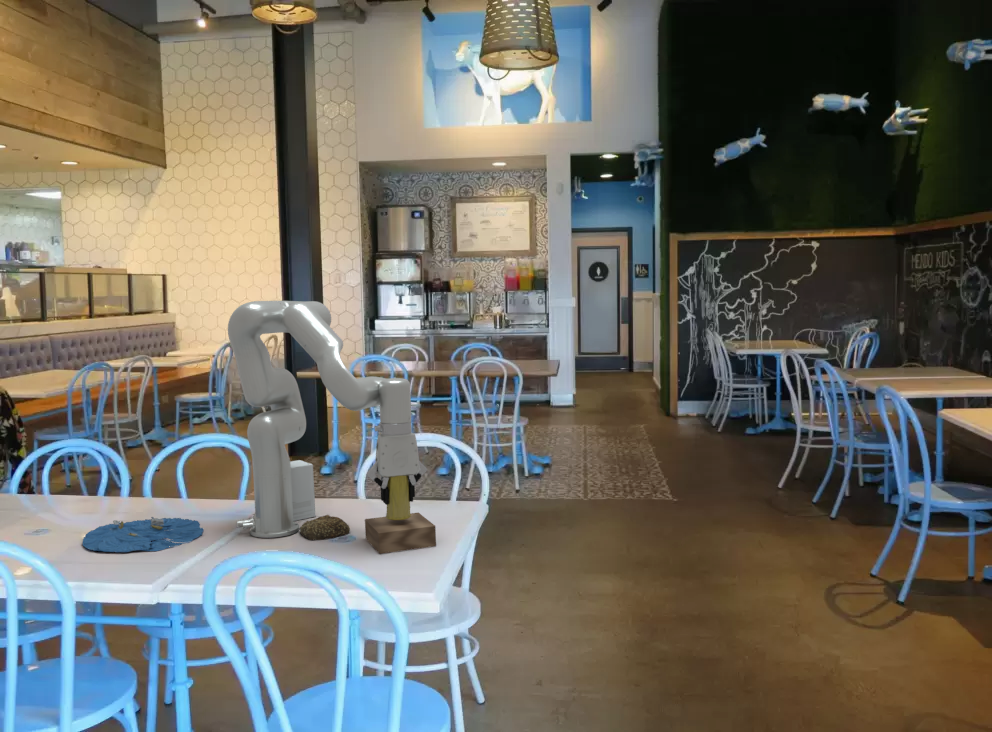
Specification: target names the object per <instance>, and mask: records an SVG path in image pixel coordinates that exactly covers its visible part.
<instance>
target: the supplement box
mask: <svg viewBox="0 0 992 732" xmlns="http://www.w3.org/2000/svg"><path fill="white" fill-rule="evenodd" d="M290 464H291V483H292V505H293V522H296V521H300V520H306V519H310V518H315V517H316V515H317V514H316V498H315V481H314V480H315V479H314V465H313V464H312V463H310V462H306V461H303V460H300V459H298V460H297V459H296V460H292V461H291V460H290Z"/></svg>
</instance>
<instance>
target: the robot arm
mask: <svg viewBox="0 0 992 732" xmlns="http://www.w3.org/2000/svg"><path fill="white" fill-rule="evenodd" d="M331 324H332V314H331V311H330V310H329V308H328V307H327V306H326V305H325V304H323V303H322V302H320V301H315V300H312V301H309V300H307V301H300V300H299V301H297V300H255V301H250V302H246V303H245V302H244V303H243V304H241V305H240V306H237V307H236V309H235V310H234V311H233V312H232V313H231V315H230V317H229V320H228V324H227V335H228V336H227V337H228V340H229V343H230V347H231V349H232V352H233V355H234V359H235V362H236V366H237V371H238V375H239V380H240V385H241V388H242V392H243V396H244V399H245V401H246V402H247V404H249V405H250V406H252V407H254V408H264V407H268V406H269V407H270V409H271V410H267V411H263V412H260V413H258V414H257V415H255V416H254V417H252V419H251V420H250V421H249V423H248V426H247V430H246V433H247V434H246V435H247V440H248V441H247V442H248V444H249V448H250V454H251V460H252V461H251V462H252V475H253V476H252V478H253V497H254V498H253V499H254V511H255V512H254V514H252V517H249V518H247V519H244V518H243V519H237V520H236V526H237V528H243V529H248V528H250V529H249V534H250V536H252V537H255V538H262V539H263V538H265V539H270V538H271V539H272V538H281V537H287V536H291V535H293V534H295V533H298V532H300V527H301V526H300V524H299V522H296V521H293V505H292V483H291V464H290V461H291V458H290V456H289V452H288V451H287V448H286V445H288V444H291V443H293V442H296V441H299V440H300V439H301V438H302V437H303V436H304V434H305V432H306V430H307V418H306V414H305V413H306V412H305V409H304V405H303V401H302V397H301V393H300V388H299V385H298V382H297V380H296V378H295V376H294V375H293V374H292V372H290V371H289V370H288V369H286V368H284V367H273V365H272V364H273V363H272V360H271V356H270V351H269V350H268V347H267V346H266V344H265V343H264V341H263V340H262V338H261V336H262V335H267V334H278V333H280V334H281V333H289V334H290V335H291V337H292V338H293V339H294V340H295V341H296V342H297V343H298V344H299V346H300V347H301V348H303V350H304V351H305V352H306V353H307V354H308V355H309V356H310V357H311V359H313V361H314V362H315V363H316V365H317V366H316V367H317V371H318V374H319V376H320V379H321V381H322V384H323V386H324V387H325V388H326V390H327V391H328V392H329V393H330V394H331V396H333V397H334V399H335V400H336V401H337V402H338V403H339V404H340V405H341V406H343V407H345V409H347V410H349V411H355V412H357V411H362V410H366V409H369V408H373V407H378V406H379V424H378V425H374V431H375V432H379V433H380V434H378V435H377V440H376V447H375V462H374V464H373V465H372V466H371V467H370V468H369V470H368V471H367V472H366V477H368V478H369V479H371V480H372V481H373V482H375V484H376V485H378V486H379V487H380V500H381V501H382V502H383V504H385V505H386V506H387V504H389V489H388V488H387V483H388V479H389V477H396V476H401V475H403V476H407V475H408V482H409V497H410V503H413V502H414V498H415V497H416V488H415V487H416V485H417V483H418V482H419V481H420V479H421V477H422V476H423V475H425V473H427V471H428V468H427V467H426V466H425V465H424V464H423V463H422V461H420V457H419V449H418V447H419V446H418V442H417V437H416V433H415V432H414V433H413V432H412V401H411V396H412V395H411V383H410V381H409V380H408V379H407V378H399V377H392V378H391V377H390V378H384V377H379V376H371V375H370V376H366V377H360V378H356V377H355V376H354V375H353V374H352V373H351V371H350V370H348V368H347V367H346V365H345V364H344V362H343V360H342V358H341V351H342V350H343V347H344V341H343V339H342V338H341V337H340V336H339V335H338V334H337V333H336V331H334V330H333V328H332V327H331ZM376 473H377V474H379V476H380V478H379V477H378V476H377V475H376Z"/></svg>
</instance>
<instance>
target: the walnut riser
mask: <svg viewBox="0 0 992 732" xmlns="http://www.w3.org/2000/svg"><path fill="white" fill-rule="evenodd" d="M410 514H411V517H410V518H408V519H405V520H389V519H387V518H386V516H379V517H372V518H365V519H364V526H365V527H364V530H365V533H364V534H365V540H366V541H367V542H368V543H369V544H370V545H371V547H373V549H374V550H376V552H377V553H378V554H379V555H383V554H390V553H397V552H403V551H404V552H405V551H410V550H417V549H426V548H432V547H433V548H434V547H436V546H437V537H436V531H437V530H436V525H435V524H434V523H433V522H431V521H430V520H428V519H427V518H426V517H425V516H424V515H422V514H421V513H420V512H414V513H413V512H410Z"/></svg>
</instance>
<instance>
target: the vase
mask: <svg viewBox="0 0 992 732" xmlns="http://www.w3.org/2000/svg"><path fill="white" fill-rule="evenodd" d="M387 488H388V489H389V504H387V505H386V513H385V517H386V518H387V519H389V520H405V519H408V518H410V517H411V502H410V497H409V482H408V475H407V476H403V475H401V476H396V477H389V479H388V483H387Z"/></svg>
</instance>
